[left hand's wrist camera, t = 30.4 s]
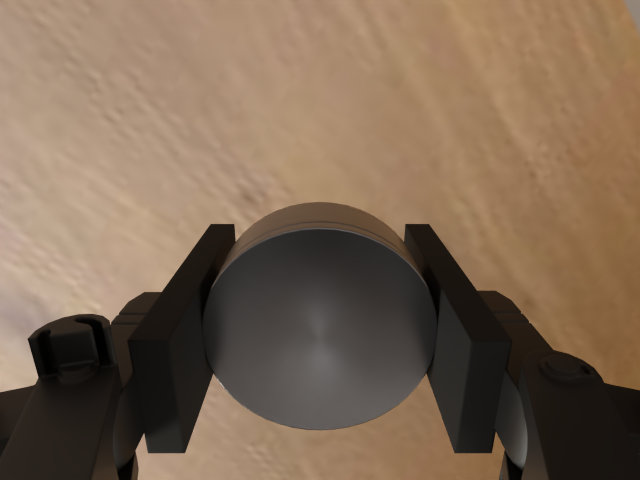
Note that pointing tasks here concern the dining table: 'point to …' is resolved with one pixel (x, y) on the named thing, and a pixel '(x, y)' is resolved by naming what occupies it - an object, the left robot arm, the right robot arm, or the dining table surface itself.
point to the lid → (319, 318)
